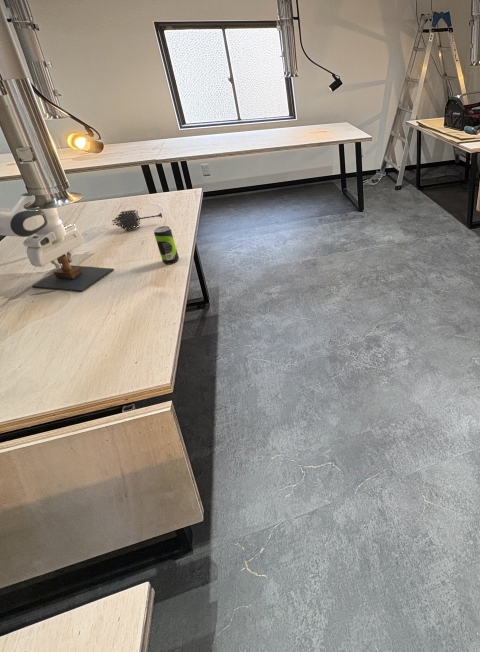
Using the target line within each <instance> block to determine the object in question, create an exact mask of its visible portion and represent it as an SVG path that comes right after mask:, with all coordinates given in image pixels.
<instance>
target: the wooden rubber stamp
mask: <svg viewBox="0 0 480 652" xmlns="http://www.w3.org/2000/svg"><path fill="white" fill-rule="evenodd" d="M57 260H58V261H57V262H58V263H62V265H63V267H62V268H60V269H57V268H56V269H55V270H54V271H53V273H54V274H55V276H56V278H60V279H69V280H74V279H75V278H77V277H79V276H80V275H82V274H83V273H82V271H81V269H80V268H79V267H71V266H70V265H71V262H70V263H69V261H68V259H67V254H64V255H62V256H60V257H59V258H57Z"/></svg>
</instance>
